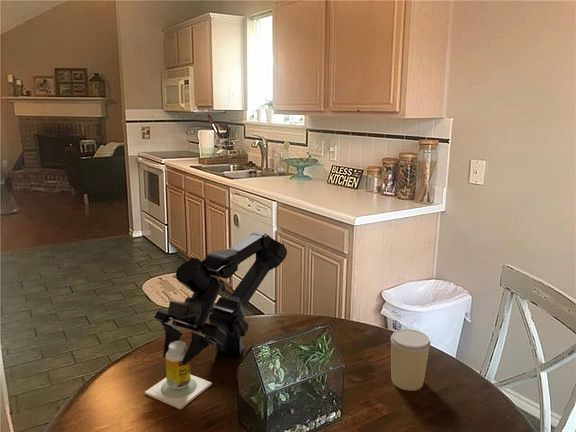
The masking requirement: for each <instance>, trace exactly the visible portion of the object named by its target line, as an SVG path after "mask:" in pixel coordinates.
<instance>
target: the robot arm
mask: <svg viewBox="0 0 576 432" xmlns="http://www.w3.org/2000/svg"><path fill="white" fill-rule="evenodd" d="M254 254H255V261H254V262H253V264H251V266H250V268H249V269H248V271H247V272H246V273H245V275H244V276H243V277H242V279H241V280H240V282H239V283H238V284H237V286H236V288H235V289H234V290H233V291H232V293H231V295H230V296H229V297H224V296H220V297H219V298H218V296H219V294H220V292H226V286H225V284H224V283H225V281H224V280H222V279H226V280H228V279H230V278H231V277H232V276H233V275H234V274H235V273H236V272H237V271H238V270H239V265H240V264H241V263H243V262H244V261H245V260H247V259H248V258H251V257H252V256H253V255H254ZM287 256H288V250H287V248H286V246H285V243H281V242H279V241H278V240H276V239H274V238H272V237H271V235H268V234H267V233H263V232H257V231H254V232H252V233H251V234H250V236H247V237H246V238H244V239H242V240H241V241H239V242H237V243H236V244H234V245H232V246H231V247H229V248H226V249H220V250H216V251H212V252H209V253H208V254H207V255H206V256H205V257H204V258H203V259H200V258H198V257H195V256H191V257H190V259H189V260H187V261H185V262H183V263H182V264H180V265H179V266H178V268H177V270H176V273H175V277H176V280H177V281H178V282H179V283H180V284H181V285H183V286H184V287H185V288H186V289H188V291H191V293H192V295H191V296H190V297H189V296H187V297H186V298H185V300H184V301H178V300H177V301H175V300H170V301H169V304H168V310H165V309H159V310H157V312H156V313H155V314H154V316H153V319H154V320H155V321H157V322H159V323H160V324H161V326H162V327H163V328H164V332H165V334H164V337H165V339H164V347H163V353H162V357H163V358H164V359H166V353H167V351H168V350H169V344H170V343H172V342H174V341H180V339H181V337H182V335H183V333H182V332H181V331H180V328H181V329H184V330H188V331H191V340H190V344H189V346H188V348H187V349H188V350H187V352H186V354H185V356H184V359H183V361H182V364H183V365H186V364H187V363H188V362H189V361H190V362H191V361H192V360H193V359H194V358H195V357H196V356H197V355H198V354H199V353H201V352H202V351H203V350H205V349H206V348H207V347H209V346H213V345H214V344H215V350H216V353H215V356H216V357H218V358H219V357H220V358H231V359H240V357H241V355H242V353H243V352H244V350H245V348H246V347H245V344H243V343H244V341H243V340H244V339H243V338H244V337H245V336H246V333H247V332H248V331H249V326H250V325H249V323H248V322H247V321H246V320H245V307H246V306H247V304H248V303H249V301H250V300H251V298H252V297H253V295H254V294H255V293H256V291H257V289H258V288H259V287H260V285H261V284H262V282H263V281H264V279H265V277H266V276H267V274H268V273H269V272H270V271H272V270H274V269H275V268H278V267H279V266H280V265H281V264H282V262H284V261H285V259H286V257H287ZM216 277H217V278H216ZM218 278H222V279H218ZM217 298H218V299H217ZM207 320H208V321H209V323H207Z"/></svg>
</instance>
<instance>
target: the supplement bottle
mask: <svg viewBox="0 0 576 432" xmlns="http://www.w3.org/2000/svg"><path fill="white" fill-rule="evenodd" d="M187 350H188V348H187V343H186V342H185V341H183V340H178V341H174V342H172V343H170V344H169V350H168V351H167V353H166V358H165V370H166V374H165V375H166V377H165V378H167V385H168V386H169V387H170V388H173V389H181V388H184V387H186V386H187V385H188V384H189V383H190V374H191V361H189V362H188V363H187V364H186V365H183V364H182V361H183V359H184V356H185V354H186V352H187Z"/></svg>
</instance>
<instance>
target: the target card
mask: <svg viewBox="0 0 576 432" xmlns="http://www.w3.org/2000/svg"><path fill="white" fill-rule="evenodd" d="M212 384H213V383H212V381H208V380H207V379H203V378H201V377H198V376H195V375H192V374H191V373H190V383H189V384H188V385H187V386H186V387H184V388H181V389H173V388H170V387H169V386H168V385H167V378H166V377H164V378H163V379H162V380H160V381H159V382H157V383H156V384H154V385H153V386H151V387H150V388H149V389H147V390H146V391H144V394H145V395H147V396H148V397H150V398H154V399H155V400H158V401H160V402H162V403H165V404H167V405H169V406H172V407H174V408H175V409H178V410H182V409H183V408H184V407H186V406H187V405H188V404H190V402H192V401H193V400H194V399H196V398H197V397H198V396H199V395H201V394H202V393H203V392H205V391H206V390H207V389H208V388H209V387H211V386H212Z"/></svg>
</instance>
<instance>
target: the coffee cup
mask: <svg viewBox="0 0 576 432" xmlns="http://www.w3.org/2000/svg"><path fill="white" fill-rule="evenodd" d="M390 344H391V345H390V348H391V349H390V363H391V364H390V369H391V371H390V373H391V374H390V375H391V382H392V384H393V385H394V386H396V387H397V388H398V389H400V390H401V389H402V390H404V391H418V390H420V389H421V388H422V387H423V386H424V381H425V377H426V370H427V365H428V359H429V352H430V347H431V341H430V338H429V336H428V335H426V334H425V333H424V332H422V331H419V330H416V329H411V328H409V329H408V328H404V329H403V328H402V329H398V330H396V331H393V333H392V335H391V336H390Z"/></svg>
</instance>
